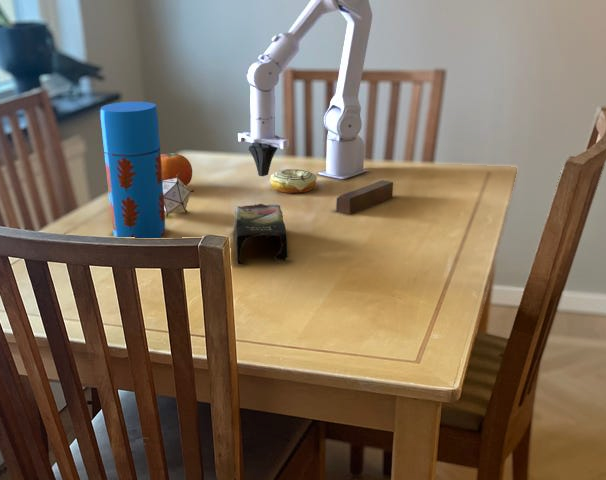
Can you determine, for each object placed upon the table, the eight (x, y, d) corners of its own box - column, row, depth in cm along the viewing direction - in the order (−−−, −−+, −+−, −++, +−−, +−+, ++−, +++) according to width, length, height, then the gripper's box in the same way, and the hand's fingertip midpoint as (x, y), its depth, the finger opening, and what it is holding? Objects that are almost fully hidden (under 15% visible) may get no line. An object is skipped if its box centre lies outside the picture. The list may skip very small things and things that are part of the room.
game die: (166, 231, 175) (135, 197, 170) (183, 208, 179) (154, 173, 175) (191, 218, 168) (160, 182, 164) (209, 194, 172) (178, 158, 168)
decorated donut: (307, 196, 181) (307, 180, 179) (263, 192, 185) (263, 176, 183) (321, 184, 189) (322, 168, 188) (280, 180, 193) (280, 165, 192)
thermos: (157, 244, 156) (147, 112, 144) (106, 242, 158) (91, 112, 146) (171, 227, 165) (163, 101, 153) (122, 225, 167) (110, 101, 155)
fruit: (176, 197, 184) (174, 162, 180) (140, 192, 189) (137, 158, 185) (201, 185, 192) (199, 152, 188) (166, 181, 197) (164, 148, 193)
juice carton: (232, 229, 162) (232, 200, 159) (280, 228, 162) (281, 199, 159) (234, 266, 145) (234, 234, 141) (288, 265, 145) (289, 232, 142)
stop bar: (379, 194, 181) (379, 179, 179) (392, 197, 178) (393, 182, 177) (336, 211, 171) (336, 195, 169) (349, 214, 169) (350, 198, 167)
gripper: (228, 116, 188) (230, 173, 194) (274, 123, 179) (275, 183, 185) (249, 111, 192) (250, 168, 199) (295, 118, 183) (294, 177, 190)
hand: (263, 175), depth 192 cm, fingers closed
